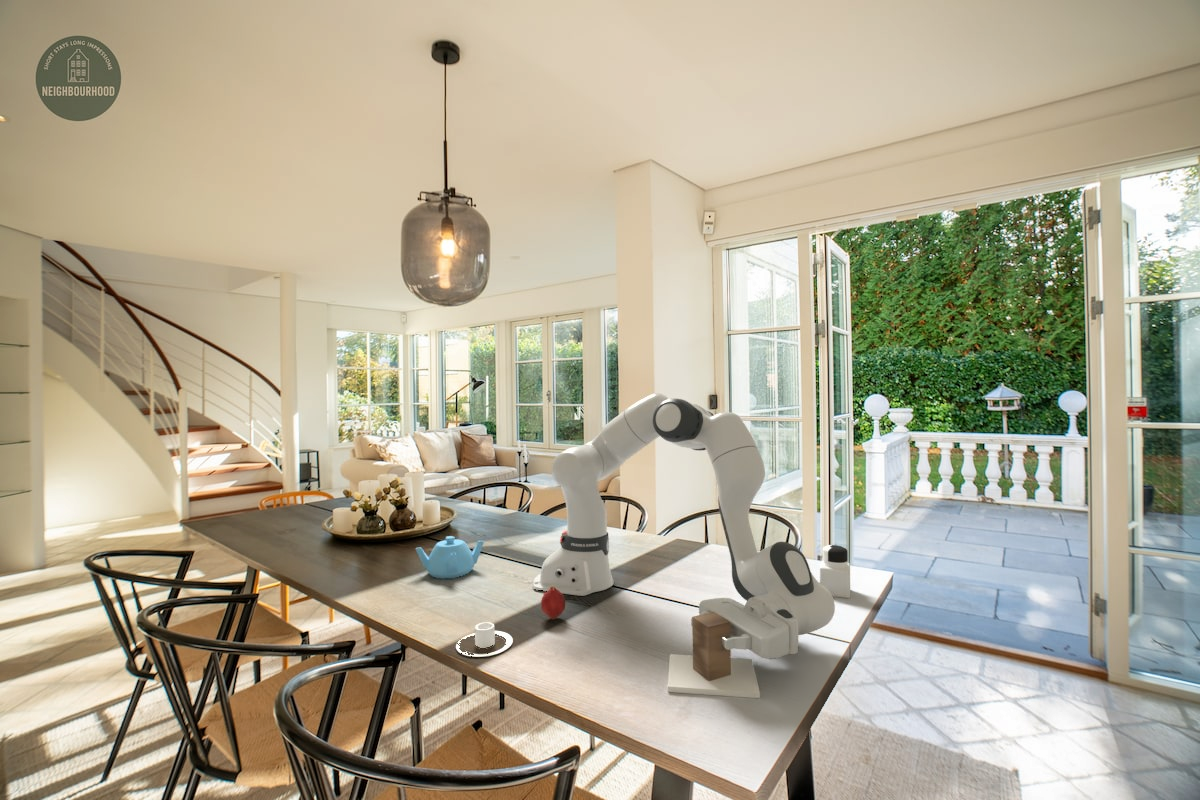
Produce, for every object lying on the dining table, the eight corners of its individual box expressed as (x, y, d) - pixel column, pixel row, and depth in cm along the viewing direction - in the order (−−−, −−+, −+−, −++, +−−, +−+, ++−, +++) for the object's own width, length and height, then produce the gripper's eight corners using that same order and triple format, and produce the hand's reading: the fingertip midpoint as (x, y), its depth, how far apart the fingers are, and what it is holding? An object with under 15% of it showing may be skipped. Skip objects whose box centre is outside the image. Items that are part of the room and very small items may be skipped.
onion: (541, 614, 132) (541, 581, 132) (565, 613, 133) (564, 580, 133) (541, 624, 127) (540, 590, 126) (565, 623, 127) (565, 589, 127)
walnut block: (692, 668, 104) (692, 616, 103) (714, 662, 106) (713, 611, 106) (708, 681, 99) (708, 627, 99) (730, 674, 101) (730, 621, 101)
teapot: (487, 568, 168) (487, 533, 168) (454, 584, 155) (453, 546, 154) (449, 562, 175) (448, 528, 175) (414, 576, 161) (413, 540, 161)
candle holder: (501, 662, 110) (501, 641, 110) (446, 658, 112) (445, 637, 112) (520, 635, 122) (519, 616, 122) (469, 632, 124) (469, 613, 124)
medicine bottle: (850, 589, 145) (849, 544, 145) (850, 599, 139) (849, 552, 138) (821, 585, 148) (821, 541, 148) (820, 595, 142) (819, 549, 141)
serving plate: (667, 691, 98) (667, 686, 98) (669, 659, 110) (669, 654, 110) (760, 698, 95) (759, 692, 95) (751, 663, 107) (751, 658, 107)
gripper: (731, 586, 117) (676, 597, 111) (803, 622, 98) (743, 638, 93) (731, 615, 117) (677, 628, 111) (804, 657, 99) (743, 675, 93)
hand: (707, 633), depth 102 cm, fingers open, 8 cm apart
